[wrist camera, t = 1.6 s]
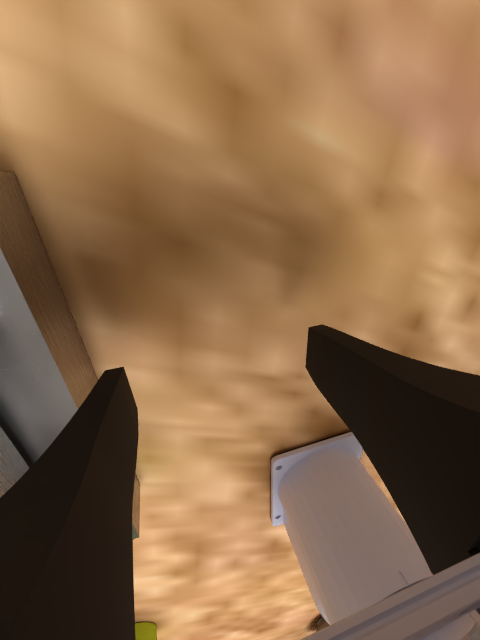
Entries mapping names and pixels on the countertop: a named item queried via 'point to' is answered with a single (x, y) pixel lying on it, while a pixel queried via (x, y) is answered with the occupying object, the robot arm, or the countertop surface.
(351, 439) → the robot arm
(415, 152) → the countertop surface
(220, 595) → the countertop surface
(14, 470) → the steel lever
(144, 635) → the soap dispenser
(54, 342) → the grey piece
